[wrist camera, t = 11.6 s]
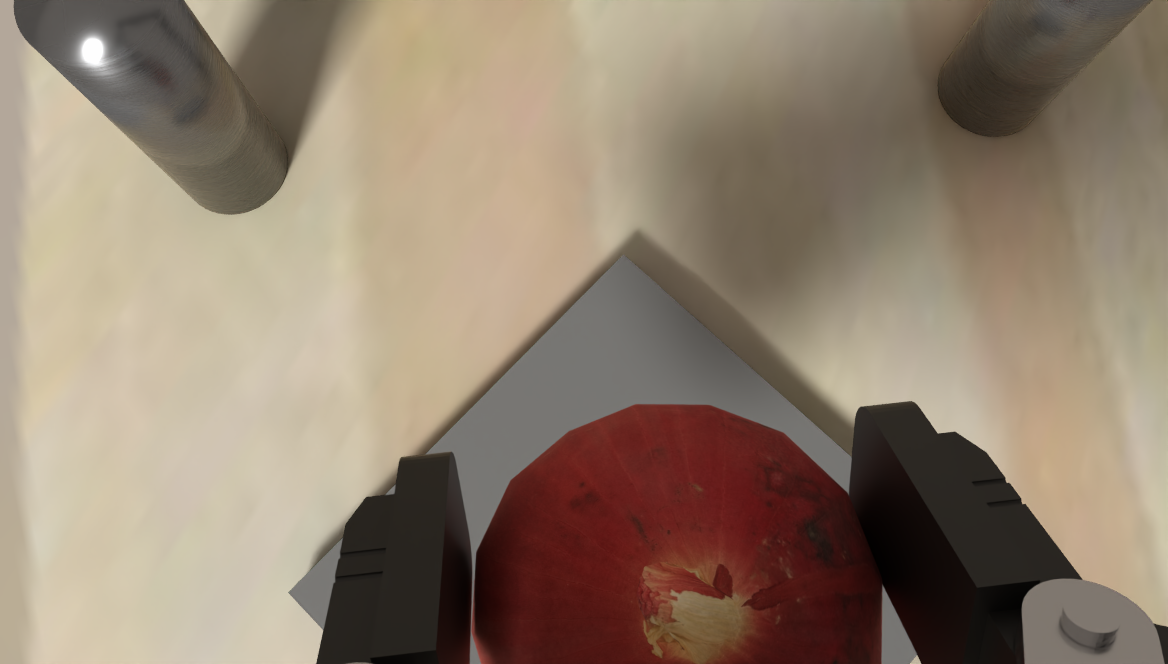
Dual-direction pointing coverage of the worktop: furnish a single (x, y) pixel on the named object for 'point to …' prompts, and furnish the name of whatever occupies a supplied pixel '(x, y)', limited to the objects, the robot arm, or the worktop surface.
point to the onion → (676, 550)
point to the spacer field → (258, 155)
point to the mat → (607, 408)
